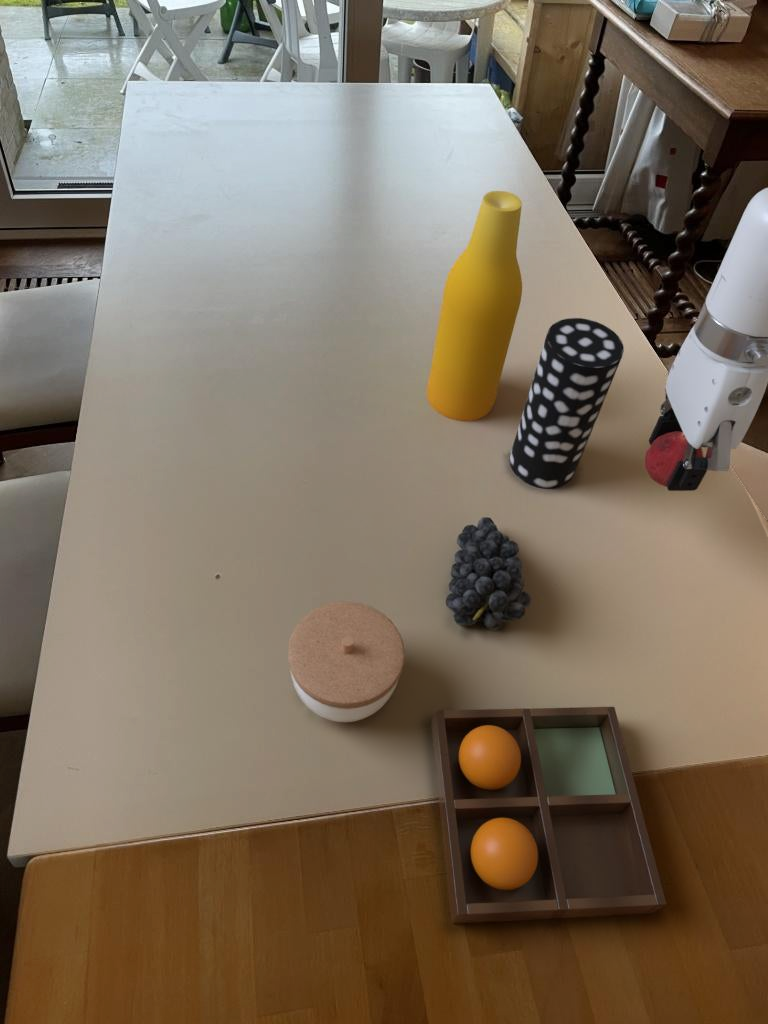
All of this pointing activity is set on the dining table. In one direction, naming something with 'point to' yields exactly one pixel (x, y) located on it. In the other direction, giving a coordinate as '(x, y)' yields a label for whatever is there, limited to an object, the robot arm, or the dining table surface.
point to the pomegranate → (666, 456)
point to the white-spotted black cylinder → (564, 401)
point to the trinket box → (345, 660)
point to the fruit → (486, 578)
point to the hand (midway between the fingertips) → (671, 464)
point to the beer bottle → (478, 314)
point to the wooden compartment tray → (549, 817)
